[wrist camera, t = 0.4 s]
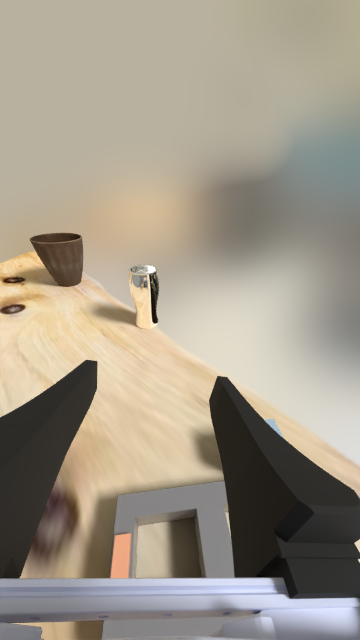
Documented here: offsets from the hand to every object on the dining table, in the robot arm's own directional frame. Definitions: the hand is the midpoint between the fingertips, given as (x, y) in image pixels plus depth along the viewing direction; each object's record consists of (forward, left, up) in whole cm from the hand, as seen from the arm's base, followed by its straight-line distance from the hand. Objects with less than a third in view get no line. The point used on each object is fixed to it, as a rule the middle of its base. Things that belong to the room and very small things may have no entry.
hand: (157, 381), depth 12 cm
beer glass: (+37, +3, -21) cm, 42 cm away
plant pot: (+65, +32, -21) cm, 75 cm away
